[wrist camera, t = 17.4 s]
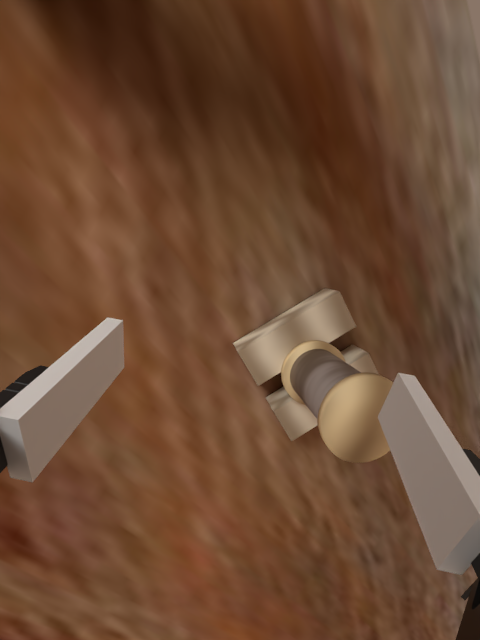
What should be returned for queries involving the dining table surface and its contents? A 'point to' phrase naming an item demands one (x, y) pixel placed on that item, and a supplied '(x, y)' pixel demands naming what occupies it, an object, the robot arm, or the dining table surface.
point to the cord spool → (338, 399)
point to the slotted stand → (285, 334)
